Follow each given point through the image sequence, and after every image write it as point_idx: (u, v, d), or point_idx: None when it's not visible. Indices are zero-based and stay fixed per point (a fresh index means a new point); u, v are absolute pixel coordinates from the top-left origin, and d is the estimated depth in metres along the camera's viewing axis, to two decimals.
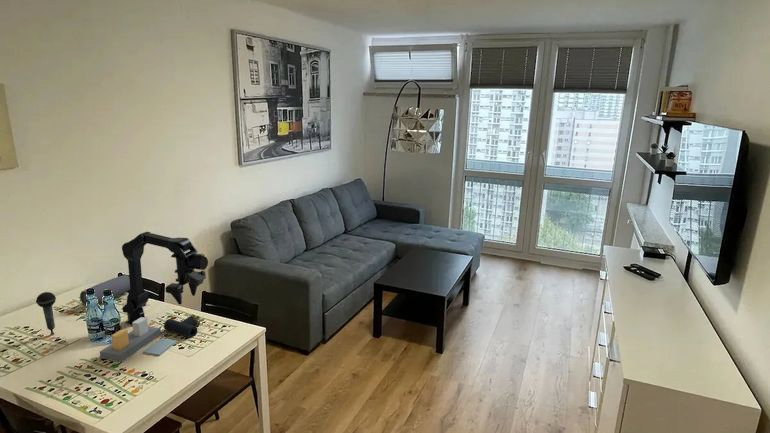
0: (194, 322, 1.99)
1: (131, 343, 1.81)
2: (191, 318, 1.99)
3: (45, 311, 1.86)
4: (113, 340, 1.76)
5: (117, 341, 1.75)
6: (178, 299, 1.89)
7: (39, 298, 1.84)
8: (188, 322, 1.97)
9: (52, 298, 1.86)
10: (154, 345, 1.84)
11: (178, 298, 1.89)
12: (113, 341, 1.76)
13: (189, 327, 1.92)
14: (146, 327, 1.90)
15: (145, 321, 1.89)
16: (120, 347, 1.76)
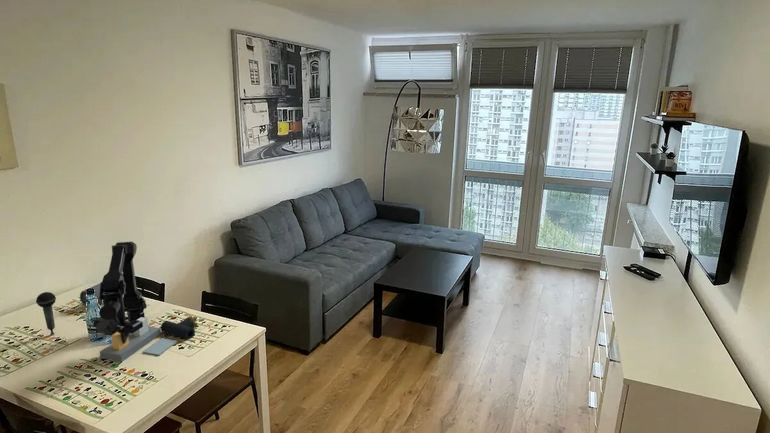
0: (191, 324, 1.98)
1: (131, 343, 1.81)
2: (188, 320, 1.98)
3: (45, 311, 1.86)
4: (113, 340, 1.76)
5: (117, 341, 1.75)
6: None
7: (39, 298, 1.84)
8: (185, 324, 1.95)
9: (52, 298, 1.86)
10: (154, 345, 1.84)
11: None
12: (113, 341, 1.76)
13: (186, 329, 1.90)
14: (146, 327, 1.90)
15: (145, 321, 1.89)
16: (120, 347, 1.76)
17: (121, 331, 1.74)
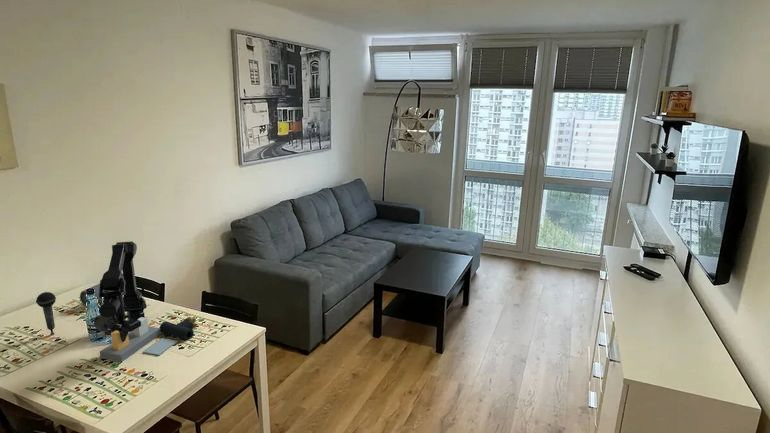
0: (190, 325, 1.97)
1: (131, 343, 1.81)
2: (187, 320, 1.97)
3: (45, 311, 1.86)
4: (112, 338, 1.75)
5: (116, 339, 1.75)
6: None
7: (39, 298, 1.84)
8: (184, 325, 1.95)
9: (52, 298, 1.86)
10: (154, 345, 1.84)
11: None
12: (112, 339, 1.76)
13: (185, 330, 1.89)
14: (146, 327, 1.90)
15: (145, 321, 1.89)
16: (119, 345, 1.76)
17: (119, 329, 1.73)
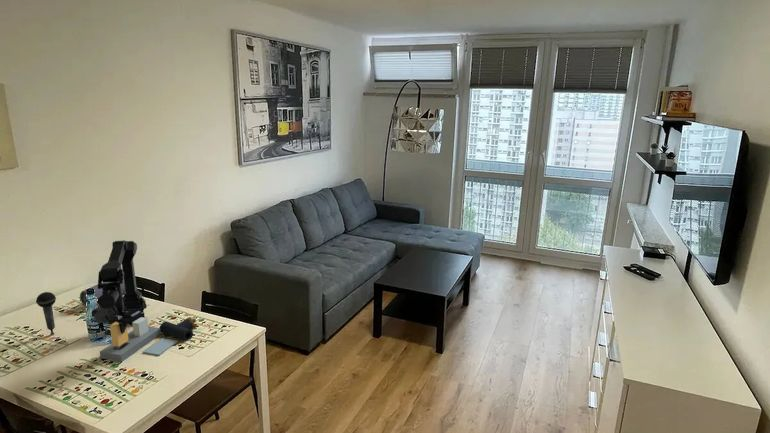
0: (190, 325, 1.97)
1: (131, 343, 1.81)
2: (187, 321, 1.97)
3: (45, 311, 1.86)
4: (111, 330, 1.74)
5: (116, 331, 1.74)
6: None
7: (39, 298, 1.84)
8: (184, 325, 1.94)
9: (52, 298, 1.86)
10: (154, 345, 1.84)
11: None
12: (111, 331, 1.75)
13: (184, 330, 1.89)
14: (146, 327, 1.90)
15: (145, 321, 1.89)
16: (118, 337, 1.75)
17: (120, 321, 1.72)
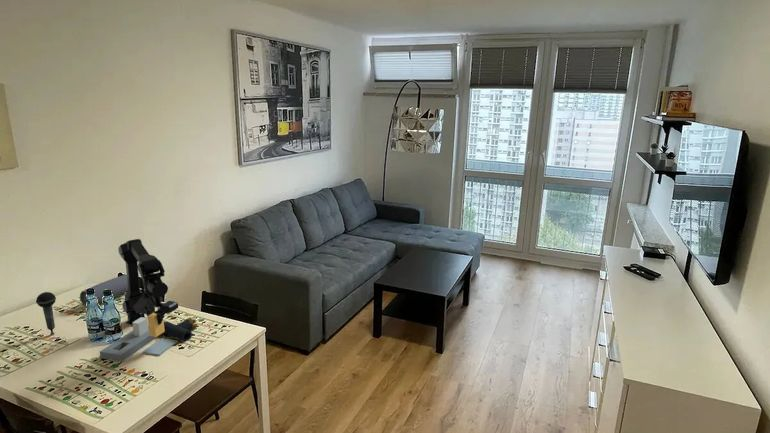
0: (190, 326, 1.96)
1: (131, 343, 1.81)
2: (187, 321, 1.96)
3: (45, 311, 1.86)
4: (149, 321, 1.78)
5: (154, 322, 1.78)
6: None
7: (39, 298, 1.84)
8: (183, 325, 1.94)
9: (52, 298, 1.86)
10: (154, 345, 1.84)
11: None
12: (149, 322, 1.78)
13: (183, 331, 1.88)
14: (146, 327, 1.90)
15: (145, 321, 1.89)
16: (156, 328, 1.79)
17: (157, 312, 1.76)
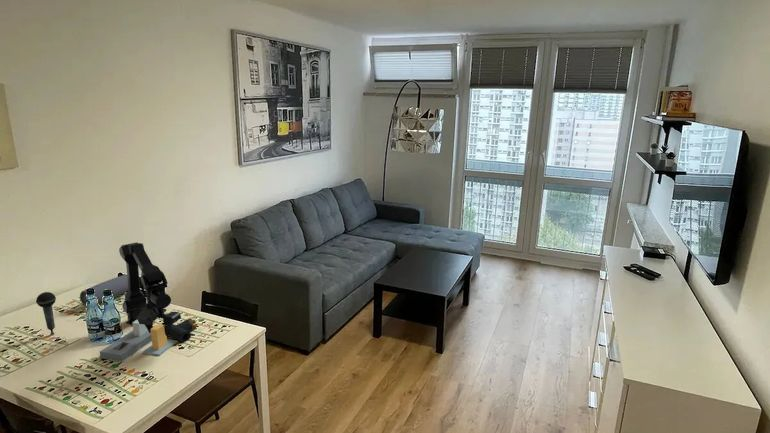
0: (190, 326, 1.96)
1: (131, 343, 1.81)
2: (186, 322, 1.96)
3: (45, 311, 1.86)
4: (152, 333, 1.80)
5: (156, 335, 1.80)
6: None
7: (39, 298, 1.84)
8: (183, 326, 1.93)
9: (52, 298, 1.86)
10: None
11: None
12: (152, 335, 1.80)
13: (182, 331, 1.88)
14: None
15: None
16: (159, 340, 1.81)
17: None
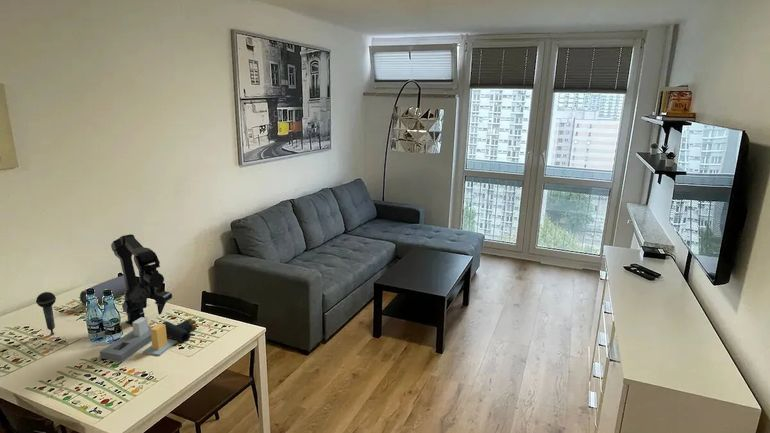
0: (189, 326, 1.95)
1: (131, 343, 1.81)
2: (186, 322, 1.96)
3: (45, 311, 1.86)
4: (152, 333, 1.80)
5: (156, 335, 1.80)
6: None
7: (39, 298, 1.84)
8: (182, 326, 1.93)
9: (52, 298, 1.86)
10: None
11: None
12: (152, 335, 1.80)
13: (181, 332, 1.88)
14: (146, 327, 1.90)
15: (145, 321, 1.89)
16: (159, 340, 1.81)
17: None
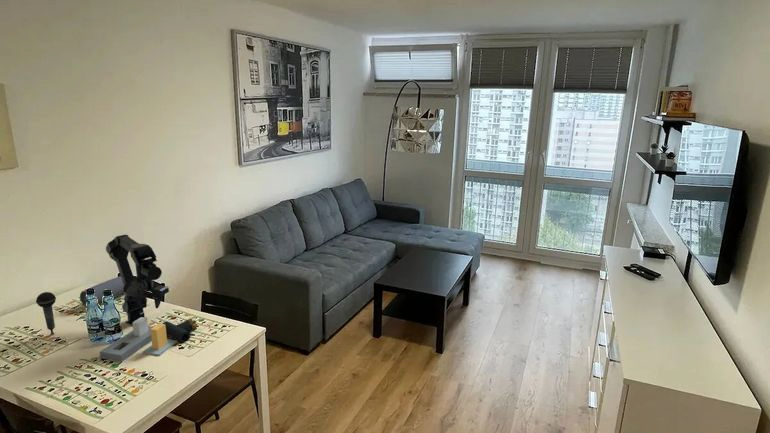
0: (190, 327, 1.95)
1: (131, 343, 1.81)
2: (187, 322, 1.96)
3: (45, 311, 1.86)
4: (152, 333, 1.80)
5: (156, 335, 1.80)
6: None
7: (39, 298, 1.84)
8: (183, 326, 1.93)
9: (52, 298, 1.86)
10: None
11: None
12: (152, 335, 1.80)
13: (181, 332, 1.88)
14: (146, 327, 1.90)
15: (145, 321, 1.89)
16: (159, 340, 1.81)
17: (155, 296, 1.88)
